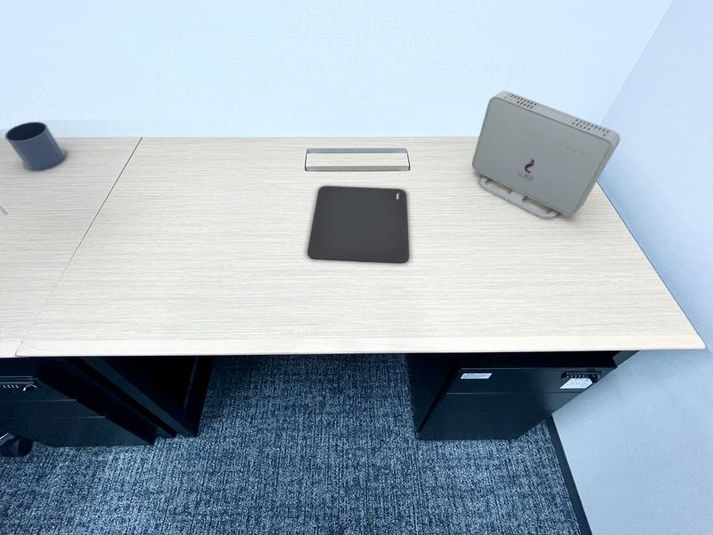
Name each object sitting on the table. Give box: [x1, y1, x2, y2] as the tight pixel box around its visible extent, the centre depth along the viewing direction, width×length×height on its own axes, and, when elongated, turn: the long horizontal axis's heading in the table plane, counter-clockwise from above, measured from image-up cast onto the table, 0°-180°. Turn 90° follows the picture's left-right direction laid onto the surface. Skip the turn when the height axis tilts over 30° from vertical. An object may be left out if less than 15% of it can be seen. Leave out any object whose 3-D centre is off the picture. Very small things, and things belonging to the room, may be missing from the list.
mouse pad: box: [307, 185, 410, 264], centre depth 86 cm, size 23×20×1 cm
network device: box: [471, 90, 621, 220], centre depth 85 cm, size 26×9×20 cm, turn 47°
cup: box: [4, 121, 66, 172], centre depth 96 cm, size 9×9×8 cm
